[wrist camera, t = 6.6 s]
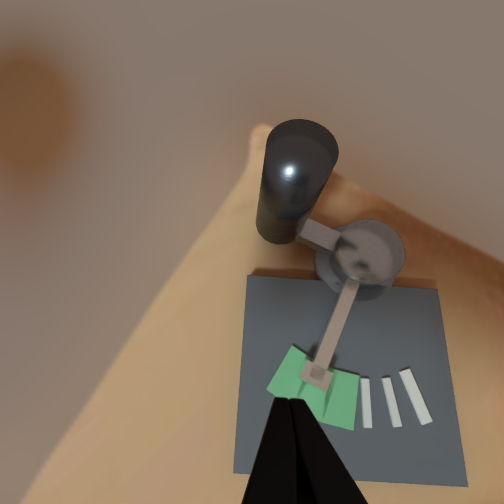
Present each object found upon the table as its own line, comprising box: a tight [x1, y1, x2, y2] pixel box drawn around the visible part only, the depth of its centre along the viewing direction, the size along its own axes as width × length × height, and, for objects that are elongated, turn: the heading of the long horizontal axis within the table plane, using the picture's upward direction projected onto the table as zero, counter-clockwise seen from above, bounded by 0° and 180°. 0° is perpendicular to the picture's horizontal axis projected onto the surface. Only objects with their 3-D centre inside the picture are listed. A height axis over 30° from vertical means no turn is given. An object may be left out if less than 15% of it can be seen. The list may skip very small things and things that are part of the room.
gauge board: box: [233, 225, 468, 487], centre depth 21 cm, size 17×14×1 cm
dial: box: [256, 119, 405, 392], centre depth 17 cm, size 10×12×8 cm
